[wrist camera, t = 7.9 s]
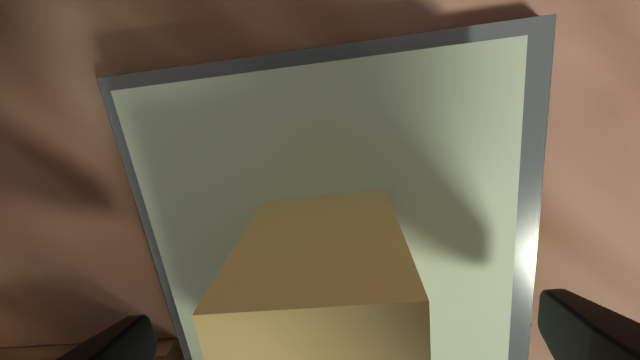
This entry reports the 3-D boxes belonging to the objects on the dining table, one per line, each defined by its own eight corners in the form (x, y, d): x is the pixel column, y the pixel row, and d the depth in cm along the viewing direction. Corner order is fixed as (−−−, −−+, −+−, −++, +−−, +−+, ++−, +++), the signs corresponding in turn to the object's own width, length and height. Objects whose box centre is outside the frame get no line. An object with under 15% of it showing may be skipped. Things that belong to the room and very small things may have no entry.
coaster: (541, 18, 8) (556, 13, 8) (516, 375, 12) (525, 390, 11) (111, 77, 10) (96, 77, 9) (204, 387, 13) (198, 401, 13)
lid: (490, 43, 8) (783, -21, 3) (480, 380, 11) (606, 654, 6) (151, 88, 9) (-132, 107, 4) (232, 389, 12) (146, 637, 7)
